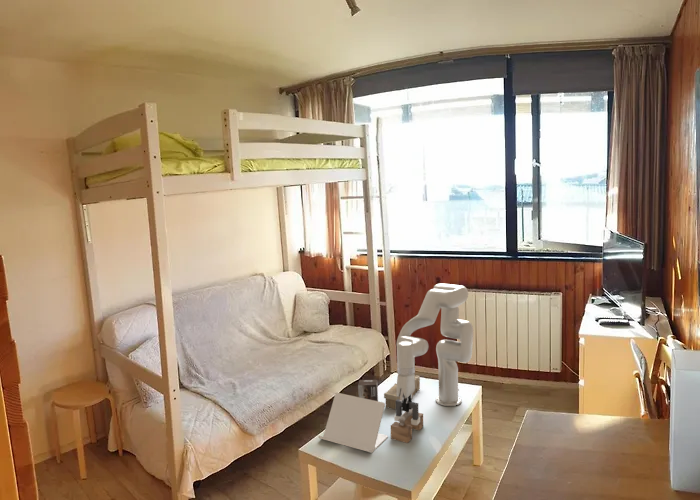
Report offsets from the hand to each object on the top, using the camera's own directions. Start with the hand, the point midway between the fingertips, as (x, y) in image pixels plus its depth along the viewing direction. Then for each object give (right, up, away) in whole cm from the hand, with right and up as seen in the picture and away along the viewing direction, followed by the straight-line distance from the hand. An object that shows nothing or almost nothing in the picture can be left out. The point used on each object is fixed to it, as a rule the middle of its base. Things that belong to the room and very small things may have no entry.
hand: (407, 409), depth 231 cm
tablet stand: (-24, -12, -3) cm, 27 cm away
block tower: (+2, -6, +37) cm, 38 cm away
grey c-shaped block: (0, -5, +1) cm, 5 cm away
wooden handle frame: (0, -10, +1) cm, 11 cm away
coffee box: (-16, -9, +21) cm, 28 cm away
